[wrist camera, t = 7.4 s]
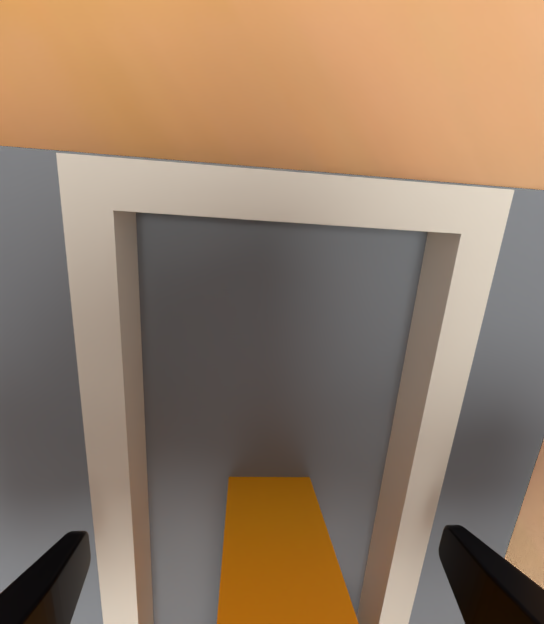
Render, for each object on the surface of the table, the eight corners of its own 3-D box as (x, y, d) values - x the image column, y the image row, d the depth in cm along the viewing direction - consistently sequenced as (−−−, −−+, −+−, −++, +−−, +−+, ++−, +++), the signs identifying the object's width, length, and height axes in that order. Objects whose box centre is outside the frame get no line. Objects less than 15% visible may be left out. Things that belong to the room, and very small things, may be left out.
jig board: (592, 198, 10) (690, 192, 7) (459, 632, 14) (496, 703, 12) (-78, 144, 8) (-196, 116, 6) (22, 652, 13) (-23, 738, 11)
